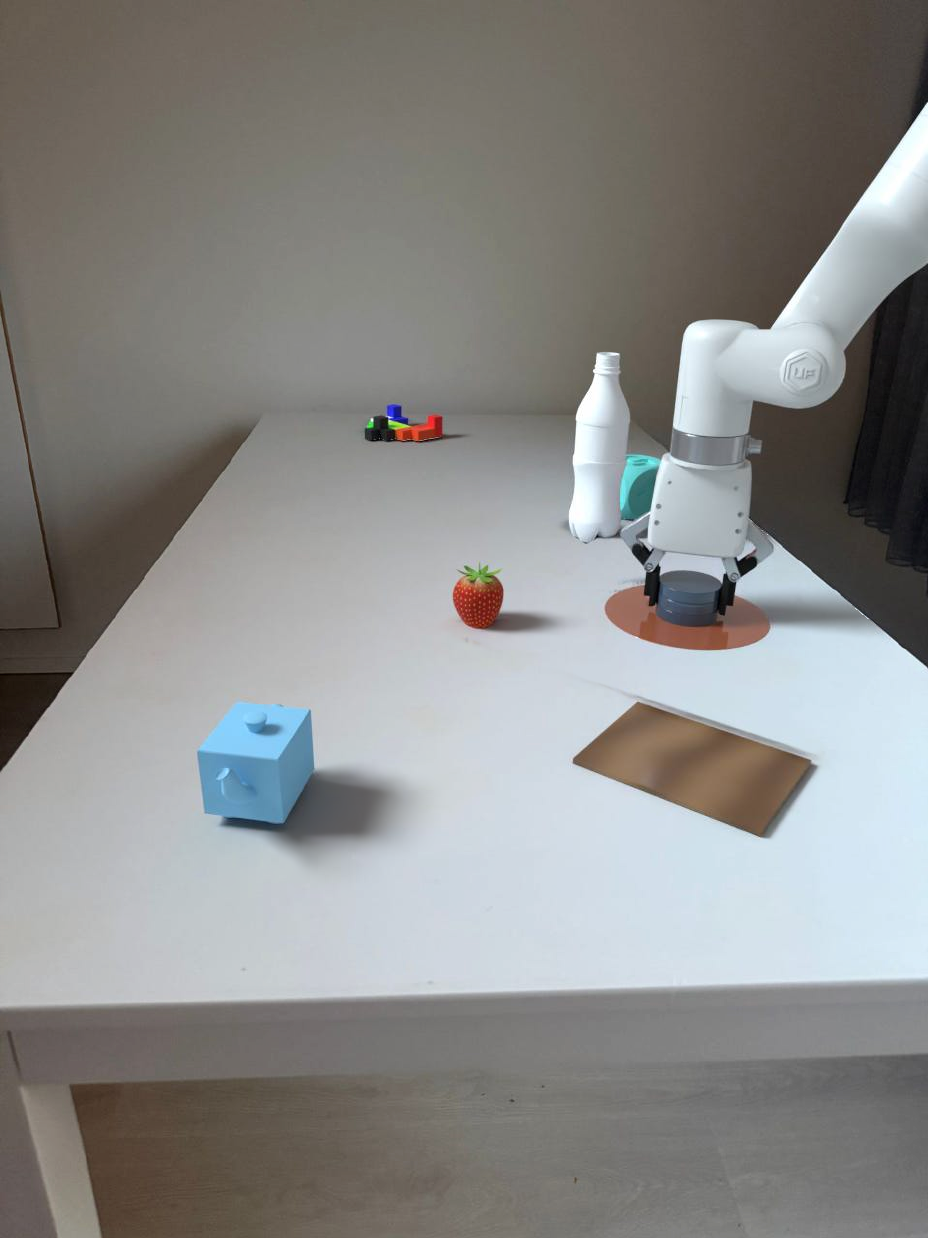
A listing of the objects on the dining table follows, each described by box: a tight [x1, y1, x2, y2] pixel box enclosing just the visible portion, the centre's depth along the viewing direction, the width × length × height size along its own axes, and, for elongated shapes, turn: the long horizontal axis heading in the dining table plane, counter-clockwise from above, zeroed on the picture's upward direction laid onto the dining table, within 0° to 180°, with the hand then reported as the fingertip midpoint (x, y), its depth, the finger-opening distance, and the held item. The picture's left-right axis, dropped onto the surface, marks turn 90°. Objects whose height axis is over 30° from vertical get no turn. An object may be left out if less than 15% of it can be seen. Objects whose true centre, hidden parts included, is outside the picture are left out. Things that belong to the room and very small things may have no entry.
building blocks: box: [364, 403, 443, 441], centre depth 180 cm, size 15×13×4 cm
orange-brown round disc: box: [604, 584, 771, 651], centre depth 101 cm, size 18×18×1 cm
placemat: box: [572, 701, 812, 838], centre depth 75 cm, size 16×12×1 cm
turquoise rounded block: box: [620, 454, 662, 520], centre depth 136 cm, size 8×8×8 cm
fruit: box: [452, 562, 504, 629], centre depth 97 cm, size 5×5×8 cm
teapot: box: [196, 701, 315, 825], centre depth 67 cm, size 12×6×8 cm, turn 170°
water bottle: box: [568, 351, 631, 544], centre depth 122 cm, size 7×7×25 cm
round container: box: [655, 569, 722, 627], centre depth 100 cm, size 7×7×4 cm
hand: (687, 605), depth 100 cm, fingers closed on round container, 6 cm apart
